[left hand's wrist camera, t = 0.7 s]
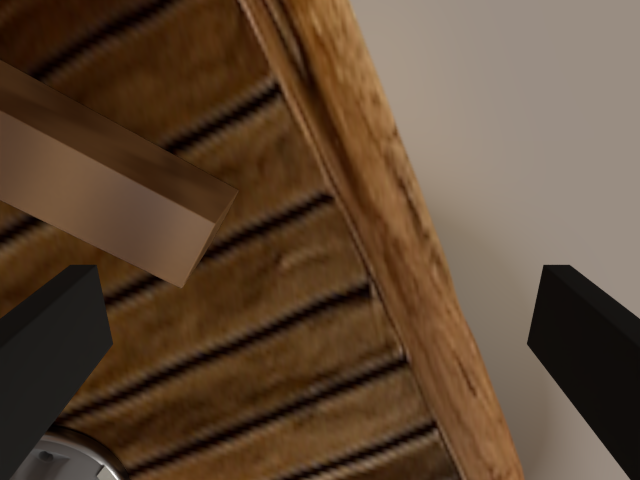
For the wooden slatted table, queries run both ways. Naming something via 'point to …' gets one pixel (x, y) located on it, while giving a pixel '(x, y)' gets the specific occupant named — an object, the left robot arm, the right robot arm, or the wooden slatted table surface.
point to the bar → (104, 181)
